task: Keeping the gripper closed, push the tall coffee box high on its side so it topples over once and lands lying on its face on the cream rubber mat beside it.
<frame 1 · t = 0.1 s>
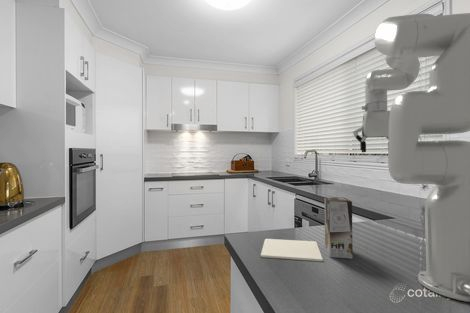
hand: (377, 152, 99), 31 cm above the table, tool pointing down, fingers open, 9 cm apart
coffee box: (338, 253, 76), on the table
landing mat: (290, 249, 78), on the table
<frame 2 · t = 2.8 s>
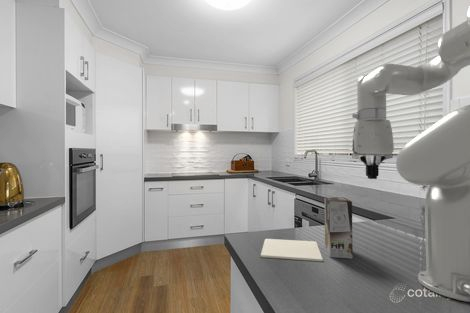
hand: (372, 178, 75), 22 cm above the table, tool pointing down, fingers closed
nothing on the table moved.
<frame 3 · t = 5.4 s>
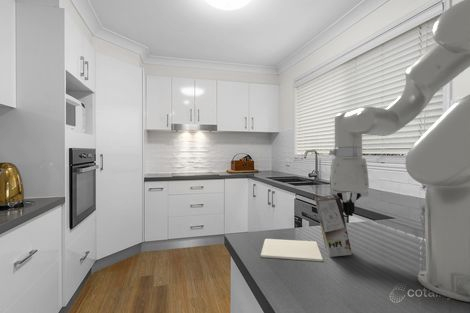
hand: (348, 214, 75), 11 cm above the table, tool pointing down, fingers closed
coffee box: (338, 251, 76), on the table, touching gripper
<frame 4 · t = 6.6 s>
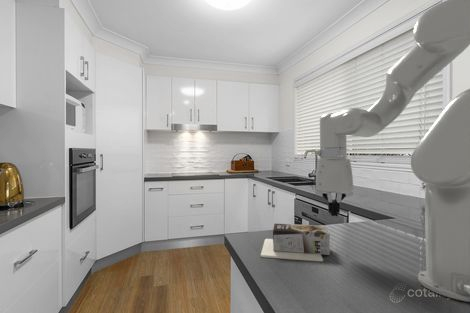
hand: (333, 215, 76), 11 cm above the table, tool pointing down, fingers closed
coffee box: (328, 239, 76), point 4 cm above the table, touching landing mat
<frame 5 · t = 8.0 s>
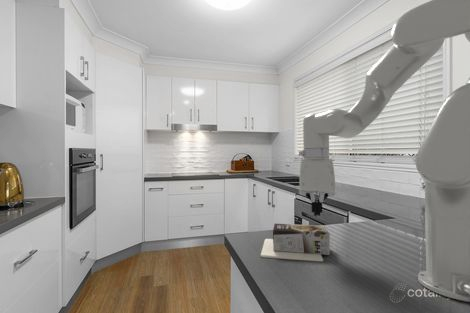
hand: (316, 214, 77), 11 cm above the table, tool pointing down, fingers closed
nothing on the table moved.
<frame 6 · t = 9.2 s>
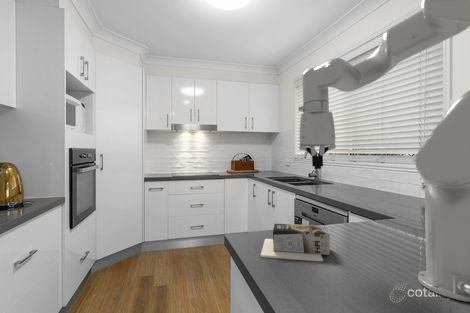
hand: (317, 168, 77), 25 cm above the table, tool pointing down, fingers closed
nothing on the table moved.
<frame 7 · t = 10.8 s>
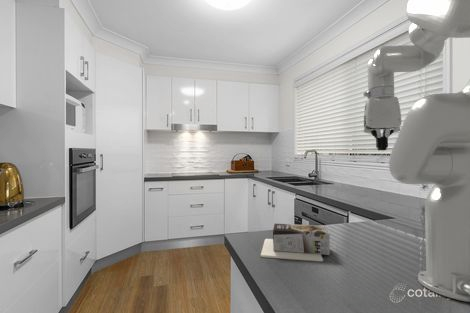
hand: (382, 150, 83), 31 cm above the table, tool pointing down, fingers closed
nothing on the table moved.
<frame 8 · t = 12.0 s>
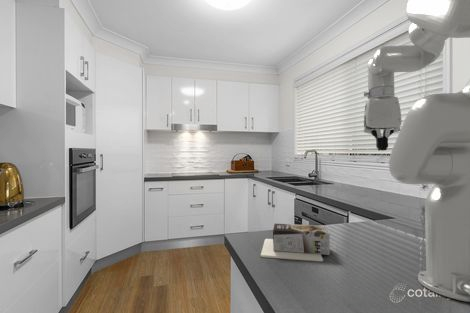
hand: (382, 150, 83), 31 cm above the table, tool pointing down, fingers closed
nothing on the table moved.
at the end: coffee box tilted 90°; coffee box inside the target area (4.2 cm from its centre), point 3.8 cm above the table; coffee box touching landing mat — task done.
